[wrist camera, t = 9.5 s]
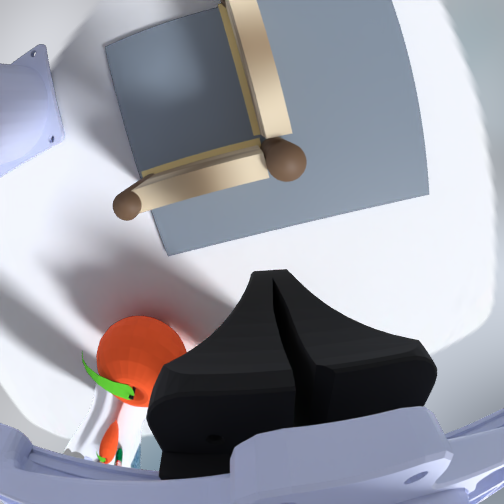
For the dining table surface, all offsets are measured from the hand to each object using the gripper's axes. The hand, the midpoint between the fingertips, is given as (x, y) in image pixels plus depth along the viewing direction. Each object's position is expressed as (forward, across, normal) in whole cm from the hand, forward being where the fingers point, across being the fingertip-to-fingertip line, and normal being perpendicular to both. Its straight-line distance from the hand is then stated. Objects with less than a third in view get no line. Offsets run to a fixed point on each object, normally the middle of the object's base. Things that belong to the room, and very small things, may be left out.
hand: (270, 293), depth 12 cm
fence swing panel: (+9, 0, -10) cm, 13 cm away
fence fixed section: (+9, +3, -4) cm, 10 cm away
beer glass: (+10, +14, +17) cm, 24 cm away
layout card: (+9, -2, -7) cm, 12 cm away
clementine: (+10, +10, +9) cm, 16 cm away
